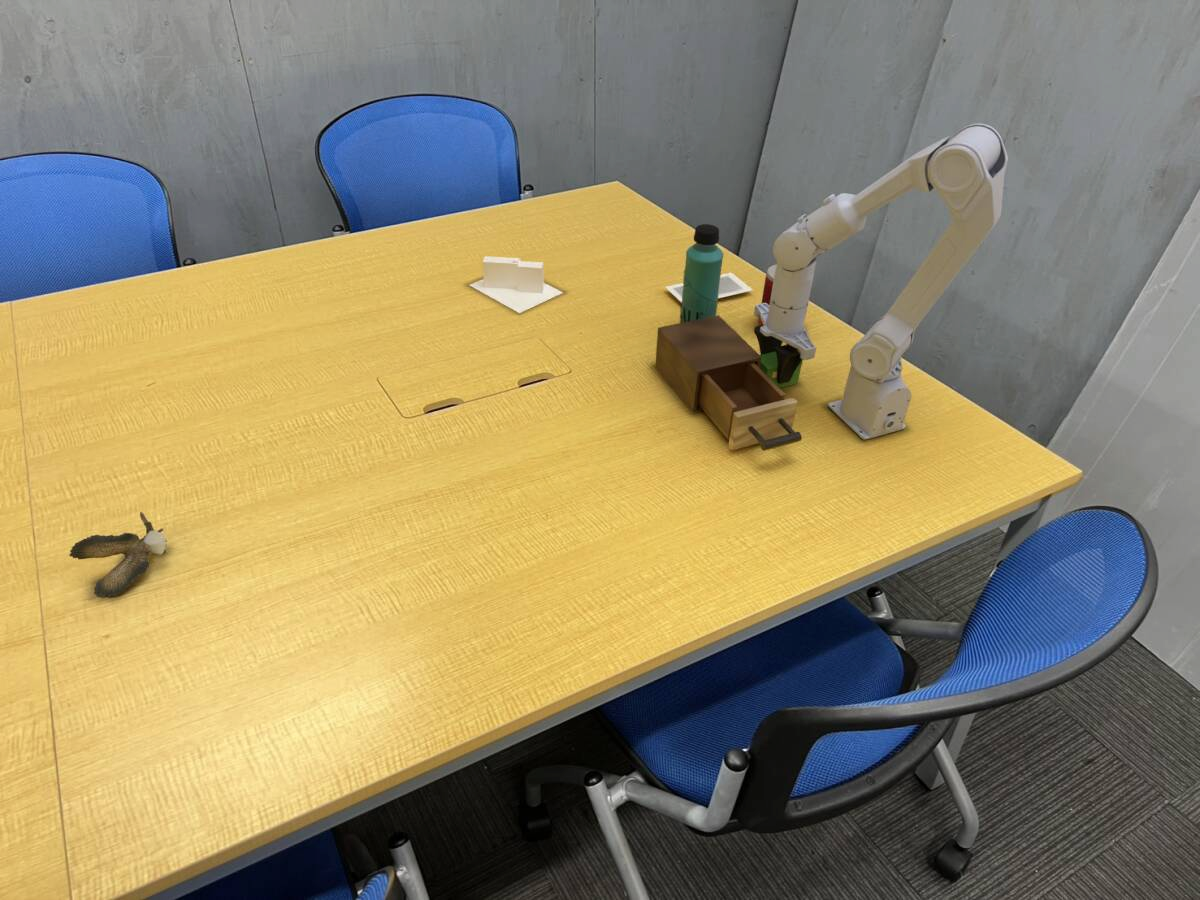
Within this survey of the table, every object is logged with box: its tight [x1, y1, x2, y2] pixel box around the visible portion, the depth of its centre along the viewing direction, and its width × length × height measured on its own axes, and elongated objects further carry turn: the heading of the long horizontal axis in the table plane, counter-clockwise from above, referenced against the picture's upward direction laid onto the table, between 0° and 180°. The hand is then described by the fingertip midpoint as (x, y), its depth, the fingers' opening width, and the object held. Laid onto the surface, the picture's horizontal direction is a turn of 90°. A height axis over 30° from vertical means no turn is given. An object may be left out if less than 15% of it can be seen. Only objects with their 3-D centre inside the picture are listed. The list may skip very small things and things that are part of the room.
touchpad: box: [664, 272, 754, 303], centre depth 154 cm, size 8×15×2 cm, turn 115°
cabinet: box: [654, 314, 762, 413], centre depth 130 cm, size 14×11×8 cm
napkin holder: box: [468, 255, 564, 314], centre depth 153 cm, size 15×11×6 cm
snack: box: [759, 352, 803, 389], centre depth 131 cm, size 4×6×4 cm, turn 112°
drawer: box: [697, 362, 803, 452], centre depth 120 cm, size 18×10×6 cm, turn 22°
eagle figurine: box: [68, 511, 168, 598], centre depth 97 cm, size 8×7×9 cm
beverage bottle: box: [678, 223, 724, 323], centre depth 137 cm, size 6×7×20 cm
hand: (775, 374), depth 132 cm, fingers closed on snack, 4 cm apart
